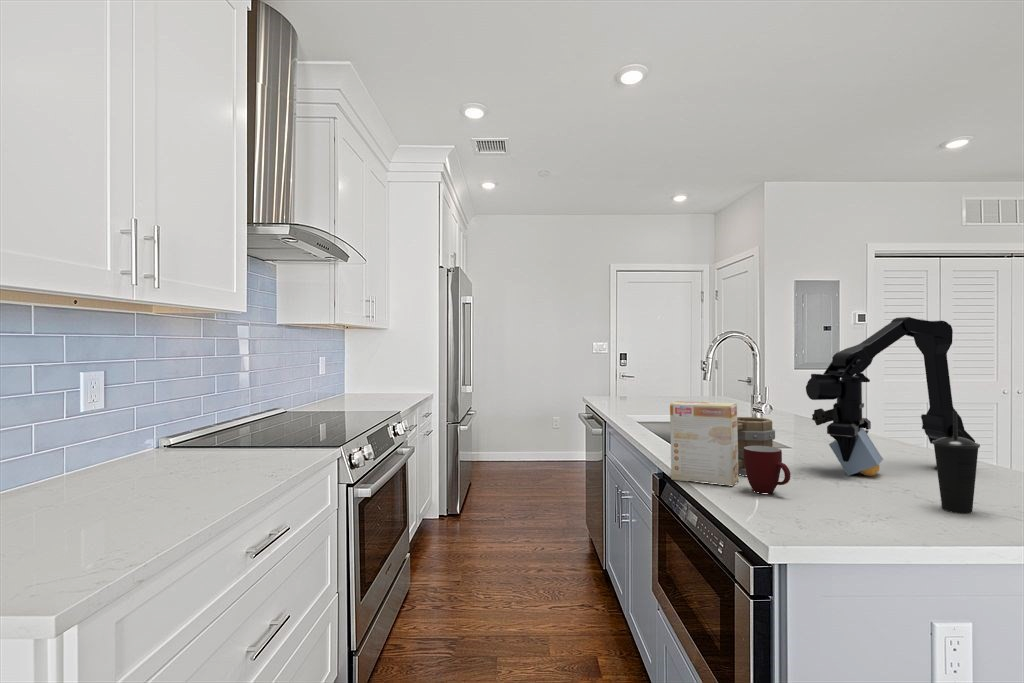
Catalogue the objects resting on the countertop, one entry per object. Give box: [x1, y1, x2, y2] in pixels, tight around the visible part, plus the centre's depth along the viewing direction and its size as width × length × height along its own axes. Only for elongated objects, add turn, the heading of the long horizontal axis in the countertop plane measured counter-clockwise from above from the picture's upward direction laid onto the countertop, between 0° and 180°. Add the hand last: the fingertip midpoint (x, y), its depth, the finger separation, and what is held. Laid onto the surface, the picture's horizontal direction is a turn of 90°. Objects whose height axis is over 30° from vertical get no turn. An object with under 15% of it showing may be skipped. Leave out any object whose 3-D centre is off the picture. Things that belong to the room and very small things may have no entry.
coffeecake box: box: [669, 400, 739, 486], centre depth 141 cm, size 15×7×20 cm, turn 57°
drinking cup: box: [931, 410, 981, 514], centre depth 114 cm, size 8×8×20 cm
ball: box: [859, 464, 880, 477], centre depth 144 cm, size 5×5×5 cm
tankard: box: [737, 416, 776, 476], centre depth 149 cm, size 20×13×15 cm, turn 123°
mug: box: [744, 446, 791, 494], centre depth 129 cm, size 11×8×10 cm
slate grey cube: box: [828, 428, 884, 476], centre depth 146 cm, size 8×8×9 cm
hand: (849, 459), depth 147 cm, fingers closed on slate grey cube, 8 cm apart
